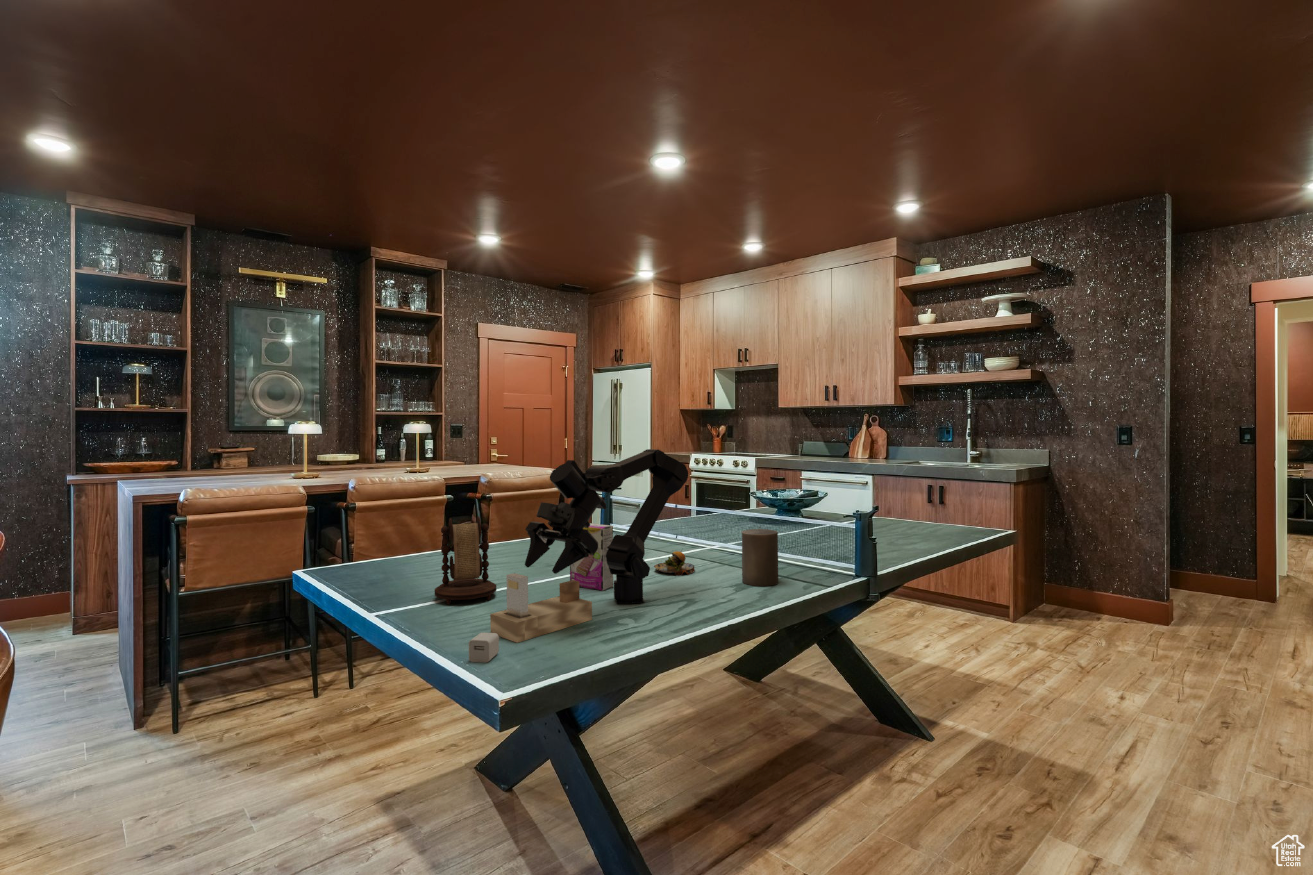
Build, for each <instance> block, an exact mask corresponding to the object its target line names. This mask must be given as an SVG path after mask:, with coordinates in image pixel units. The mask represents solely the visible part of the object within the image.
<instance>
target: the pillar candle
mask: <svg viewBox="0 0 1313 875" xmlns="http://www.w3.org/2000/svg"><path fill="white" fill-rule="evenodd" d="M741 572H742V574H741V575H742V576H741V577H742V579H741V580H742V581H741V582H742V583H743V584H745V585H748V586H755V587H770V586H776V585H778V584H779V534H778V531H777V530H774V529H770V528H769V529H767V528H761V526H759V528H752V529H745V530H742V531H741Z"/></svg>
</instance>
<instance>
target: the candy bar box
mask: <svg viewBox="0 0 1313 875" xmlns="http://www.w3.org/2000/svg"><path fill="white" fill-rule="evenodd" d="M589 524H590V526H589V527H588V528H583V529H586V530H588V531H589V532H590V534H591V535H592V536H593V537H594V538H595V539H596V541H597V542H598V549H597V551H596V553H595V554H594V555H589V556H588V557H585V558H583V559H581V560H579V561H577V562H575V563H573V564H572V565H570V566H569V581H571V580H575V581H579V588H585V589H590V590H596V591H602V592H603V591H607V590H609V589H611V588H614V574H610V570H609V567H608V564H607V561H606V553H607V551H608V548H607V547H608V546H609V545H610V544H611V542H612V540H613V537H614V526H613V525H608V524H602V523H601V524H599V523H591V522H589Z"/></svg>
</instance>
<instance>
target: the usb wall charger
mask: <svg viewBox="0 0 1313 875" xmlns="http://www.w3.org/2000/svg"><path fill="white" fill-rule="evenodd" d="M499 644H500V636H498V634H496V633H491V632H479V633H478V634H477V635H476V636H474V637H473V638H472V639H471V640H469V641H468V660H469V661H470V662H474V663H476V662H477V663H488V662H490V661H491V660H492V659H493V658H494V657H495V656H497V655H498V654H499V652H500V645H499Z"/></svg>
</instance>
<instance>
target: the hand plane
mask: <svg viewBox="0 0 1313 875" xmlns="http://www.w3.org/2000/svg"><path fill="white" fill-rule="evenodd" d="M489 620H490V633H496V634H498V636H499V638H503V639H506V640H509V641H511V642H513V643H514V642H515V643H517V644H518V643H521V642H524V641H528V640H530V639H534V638H537V637H541V636H543V635H546V634H550V633H553V632H556V631H560V630H563V629H566V628H570V627H573V626H575V625H579V624H583V623H585V622H588V621H592V620H593V602H592V600H591V601H590V600H587V599H582V598H581V597H580V587H579V581H575V580H571V581H570V580H567V581H563V582H560V583H559V596H554V597H551V598H548V599H544V600H542V599H541V600H539V601H535V602H531V603H528V617H524V618H521V619H519V618H516V617H513V616H509V615H507V609H503V610H500V611H495V612H493V613H490V618H489Z"/></svg>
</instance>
